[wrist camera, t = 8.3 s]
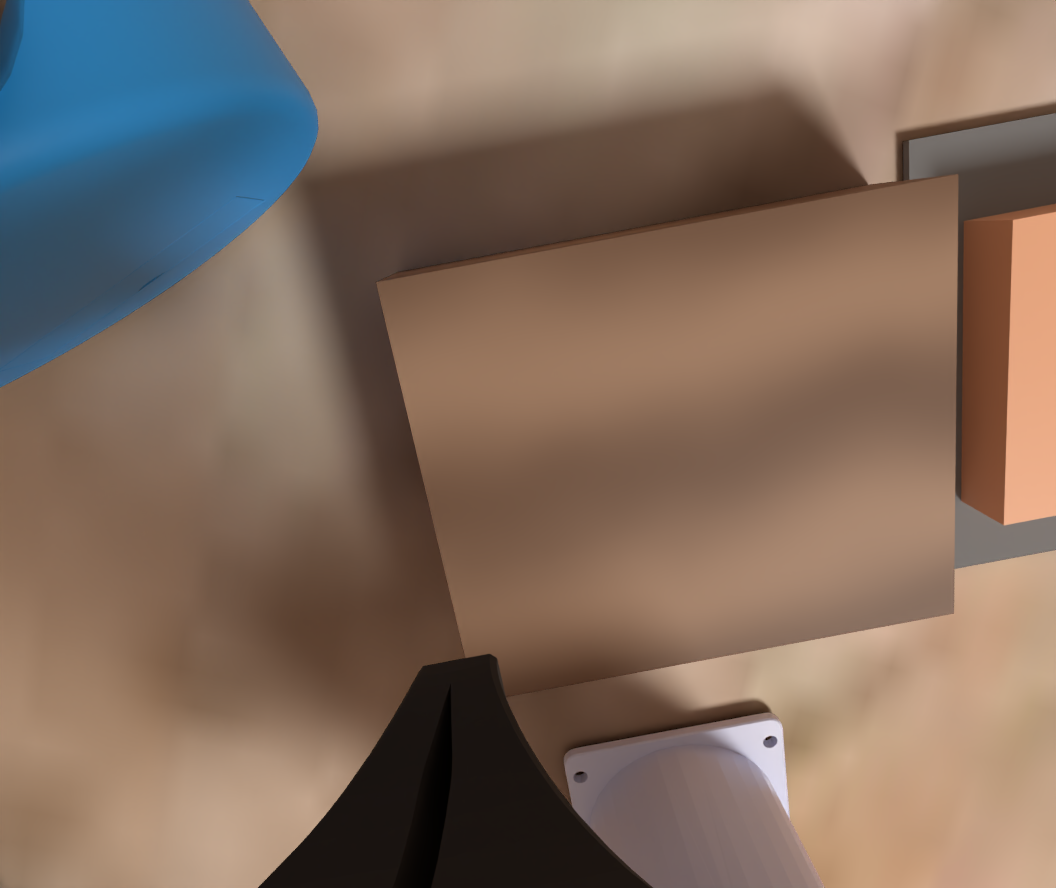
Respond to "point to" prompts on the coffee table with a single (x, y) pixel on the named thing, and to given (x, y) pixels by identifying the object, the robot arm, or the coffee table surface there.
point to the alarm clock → (131, 156)
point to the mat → (983, 190)
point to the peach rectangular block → (1009, 365)
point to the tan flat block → (690, 431)
